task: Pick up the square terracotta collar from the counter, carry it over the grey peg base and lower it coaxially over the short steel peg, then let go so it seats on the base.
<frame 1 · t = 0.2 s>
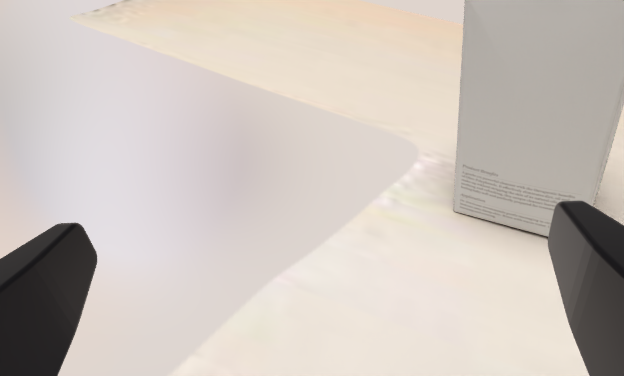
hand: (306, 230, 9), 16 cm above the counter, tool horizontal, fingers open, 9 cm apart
skincare box: (520, 204, 33), on the counter
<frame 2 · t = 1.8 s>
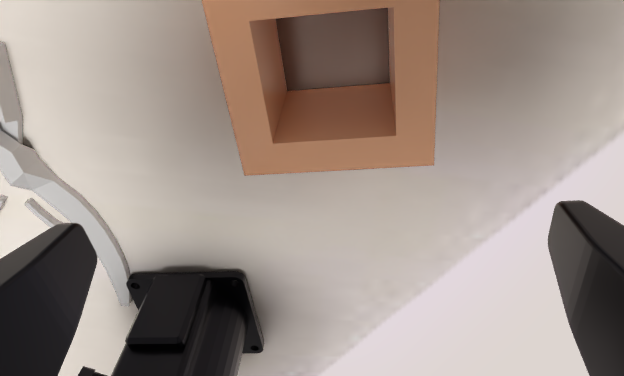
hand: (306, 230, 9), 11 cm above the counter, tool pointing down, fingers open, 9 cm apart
pliers: (20, 181, 24), on the counter
collar: (333, 36, 18), on the counter
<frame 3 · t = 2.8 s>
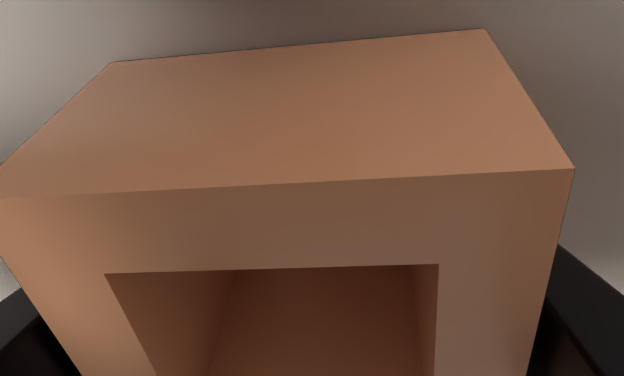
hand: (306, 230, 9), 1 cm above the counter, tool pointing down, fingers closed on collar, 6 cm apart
collar: (310, 196, 10), on the counter, touching gripper
when the fingers open (3 cm above the counter, at t = 7.0 s): collar stays where it is, resting on grey peg base.
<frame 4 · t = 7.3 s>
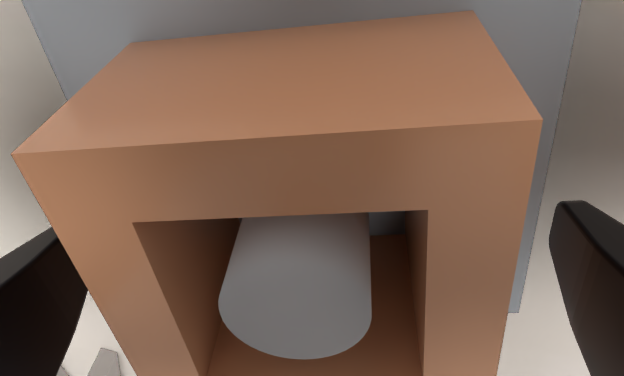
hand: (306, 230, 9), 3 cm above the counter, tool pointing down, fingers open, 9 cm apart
grey peg base: (317, 135, 12), on the counter
collar: (313, 170, 11), point 1 cm above the counter, touching grey peg base
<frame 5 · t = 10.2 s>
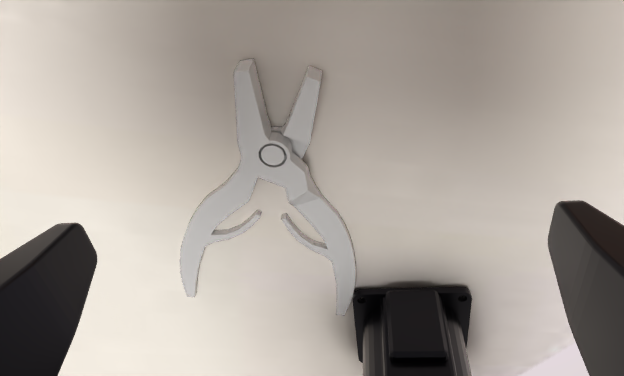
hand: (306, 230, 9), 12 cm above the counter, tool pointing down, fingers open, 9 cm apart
pliers: (273, 196, 25), on the counter
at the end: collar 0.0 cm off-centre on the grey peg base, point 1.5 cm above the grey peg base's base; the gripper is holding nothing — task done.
